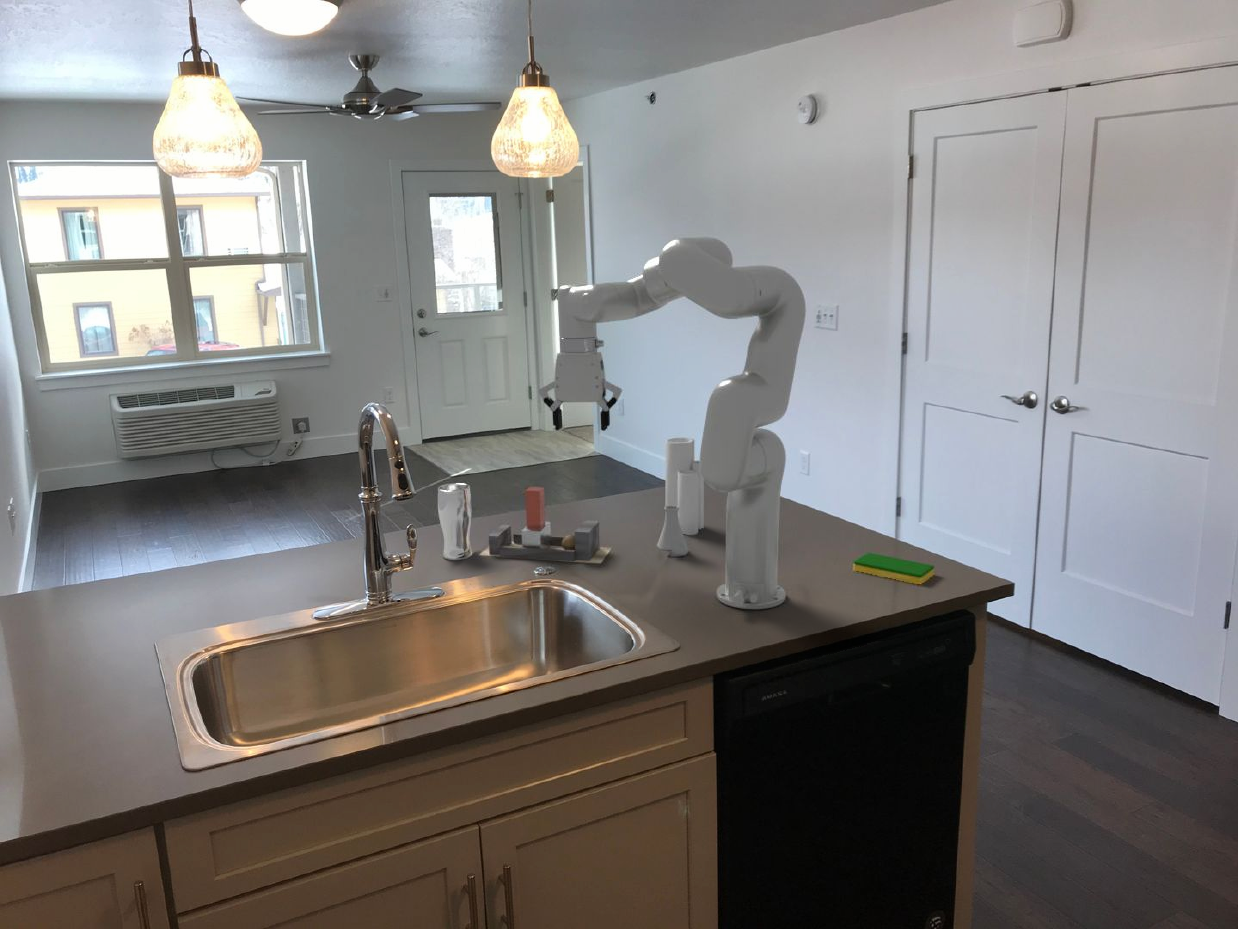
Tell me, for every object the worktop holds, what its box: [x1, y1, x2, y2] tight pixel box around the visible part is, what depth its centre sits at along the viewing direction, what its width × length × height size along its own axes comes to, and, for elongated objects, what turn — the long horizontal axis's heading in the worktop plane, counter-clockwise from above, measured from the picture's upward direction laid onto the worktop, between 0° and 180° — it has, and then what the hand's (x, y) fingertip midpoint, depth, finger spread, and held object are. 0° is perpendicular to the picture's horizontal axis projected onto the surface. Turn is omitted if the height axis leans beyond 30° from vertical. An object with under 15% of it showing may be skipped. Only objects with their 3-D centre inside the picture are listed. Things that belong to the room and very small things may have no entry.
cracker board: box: [478, 520, 613, 564], centre depth 200 cm, size 10×26×8 cm, turn 77°
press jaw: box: [521, 486, 552, 549], centre depth 200 cm, size 7×4×13 cm, turn 166°
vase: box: [664, 437, 705, 536], centre depth 219 cm, size 11×7×20 cm, turn 27°
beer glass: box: [437, 482, 473, 561], centre depth 202 cm, size 7×7×15 cm
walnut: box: [562, 534, 575, 550], centre depth 199 cm, size 4×4×4 cm
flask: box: [656, 505, 689, 558], centre depth 203 cm, size 7×7×10 cm
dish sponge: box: [852, 552, 935, 585], centre depth 190 cm, size 7×14×2 cm, turn 52°
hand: (581, 429), depth 199 cm, fingers open, 9 cm apart
